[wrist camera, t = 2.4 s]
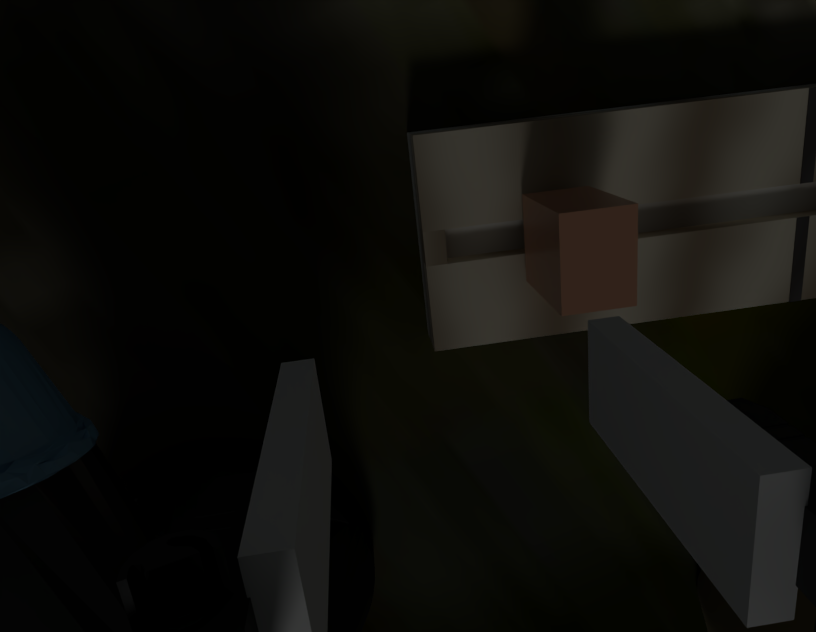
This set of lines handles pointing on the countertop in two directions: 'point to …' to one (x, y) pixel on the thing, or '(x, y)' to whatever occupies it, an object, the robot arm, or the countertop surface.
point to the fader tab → (581, 249)
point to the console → (630, 179)
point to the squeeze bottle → (728, 626)
